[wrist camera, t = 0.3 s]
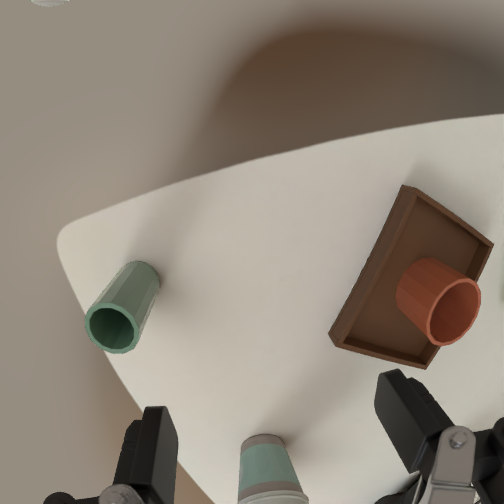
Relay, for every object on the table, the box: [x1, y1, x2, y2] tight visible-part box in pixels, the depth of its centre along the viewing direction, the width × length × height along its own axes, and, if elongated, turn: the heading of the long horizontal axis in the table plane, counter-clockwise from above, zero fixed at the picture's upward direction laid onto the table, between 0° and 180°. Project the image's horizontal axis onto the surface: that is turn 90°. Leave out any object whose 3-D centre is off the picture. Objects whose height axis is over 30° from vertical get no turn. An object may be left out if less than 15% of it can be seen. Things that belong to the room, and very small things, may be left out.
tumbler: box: [395, 257, 481, 346], centre depth 29 cm, size 7×7×7 cm
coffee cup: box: [237, 435, 309, 504], centre depth 32 cm, size 8×8×12 cm
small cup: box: [85, 261, 160, 354], centre depth 25 cm, size 4×4×9 cm
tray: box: [328, 185, 494, 370], centre depth 31 cm, size 17×14×3 cm
